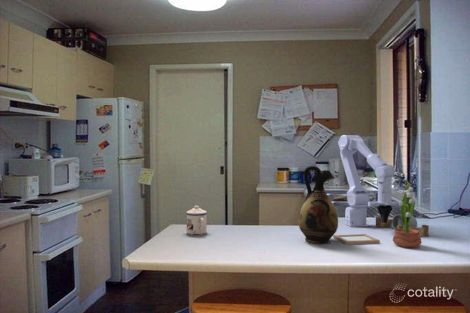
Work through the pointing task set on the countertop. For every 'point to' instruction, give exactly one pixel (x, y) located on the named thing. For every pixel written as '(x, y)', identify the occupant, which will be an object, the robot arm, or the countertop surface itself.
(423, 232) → the cedar frame
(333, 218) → the ceramic jug
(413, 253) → the countertop surface
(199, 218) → the teacup with lid
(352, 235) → the frame lid
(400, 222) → the ceramic mug
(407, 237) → the potted flower
